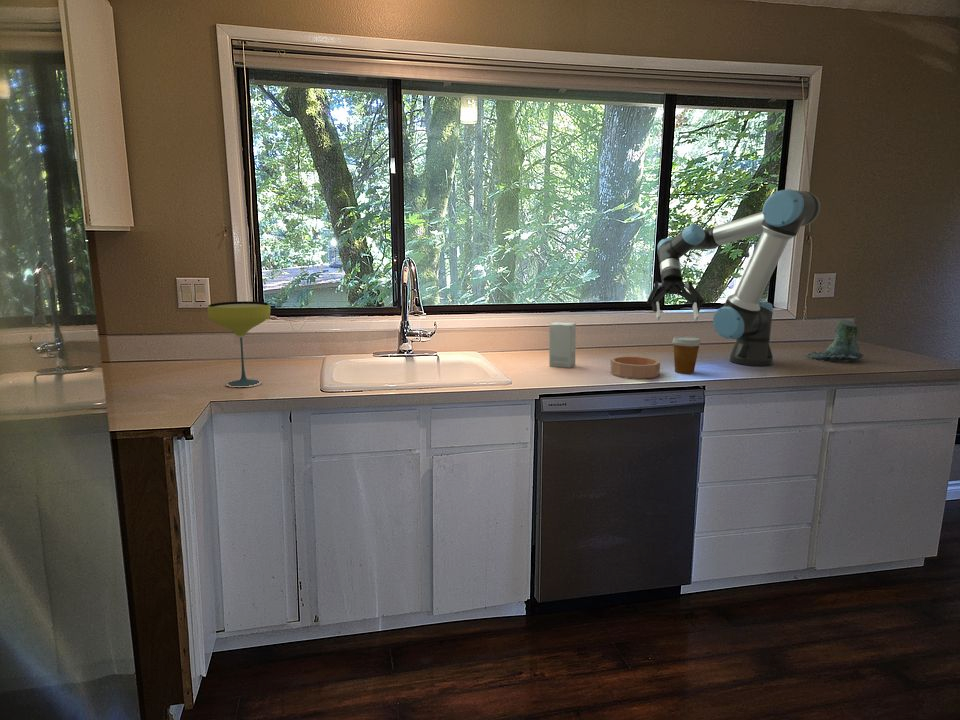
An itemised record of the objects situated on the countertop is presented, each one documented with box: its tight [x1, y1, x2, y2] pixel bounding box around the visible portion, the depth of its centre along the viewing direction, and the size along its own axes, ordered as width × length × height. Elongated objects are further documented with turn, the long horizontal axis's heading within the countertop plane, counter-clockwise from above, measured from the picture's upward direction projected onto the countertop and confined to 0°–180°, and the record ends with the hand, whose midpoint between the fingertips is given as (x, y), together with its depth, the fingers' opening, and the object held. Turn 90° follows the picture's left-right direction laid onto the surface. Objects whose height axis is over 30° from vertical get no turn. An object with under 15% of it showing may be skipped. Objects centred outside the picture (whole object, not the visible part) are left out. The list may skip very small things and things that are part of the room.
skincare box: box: [548, 321, 577, 369], centre depth 240 cm, size 8×7×16 cm
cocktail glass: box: [207, 300, 271, 386], centre depth 206 cm, size 18×18×25 cm
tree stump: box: [806, 319, 864, 364], centre depth 257 cm, size 18×20×18 cm
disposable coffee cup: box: [671, 335, 702, 375], centre depth 232 cm, size 10×10×12 cm
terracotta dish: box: [609, 355, 661, 380], centre depth 229 cm, size 16×16×4 cm
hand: (677, 318), depth 242 cm, fingers open, 13 cm apart
